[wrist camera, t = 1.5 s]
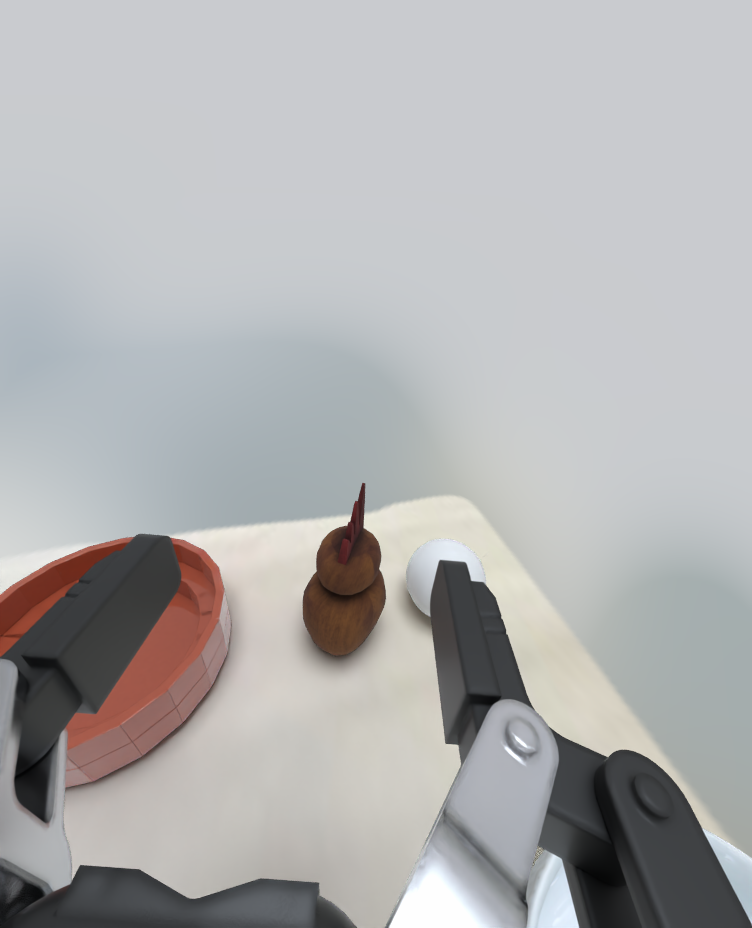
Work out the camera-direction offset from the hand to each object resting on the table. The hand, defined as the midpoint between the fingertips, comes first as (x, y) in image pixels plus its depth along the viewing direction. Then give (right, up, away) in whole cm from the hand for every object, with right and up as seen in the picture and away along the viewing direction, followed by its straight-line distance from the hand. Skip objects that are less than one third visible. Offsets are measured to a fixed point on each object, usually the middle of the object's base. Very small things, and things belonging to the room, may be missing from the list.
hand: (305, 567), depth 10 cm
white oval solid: (+9, -11, +24) cm, 28 cm away
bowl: (-17, -12, +16) cm, 26 cm away
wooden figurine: (-1, -12, +20) cm, 23 cm away
